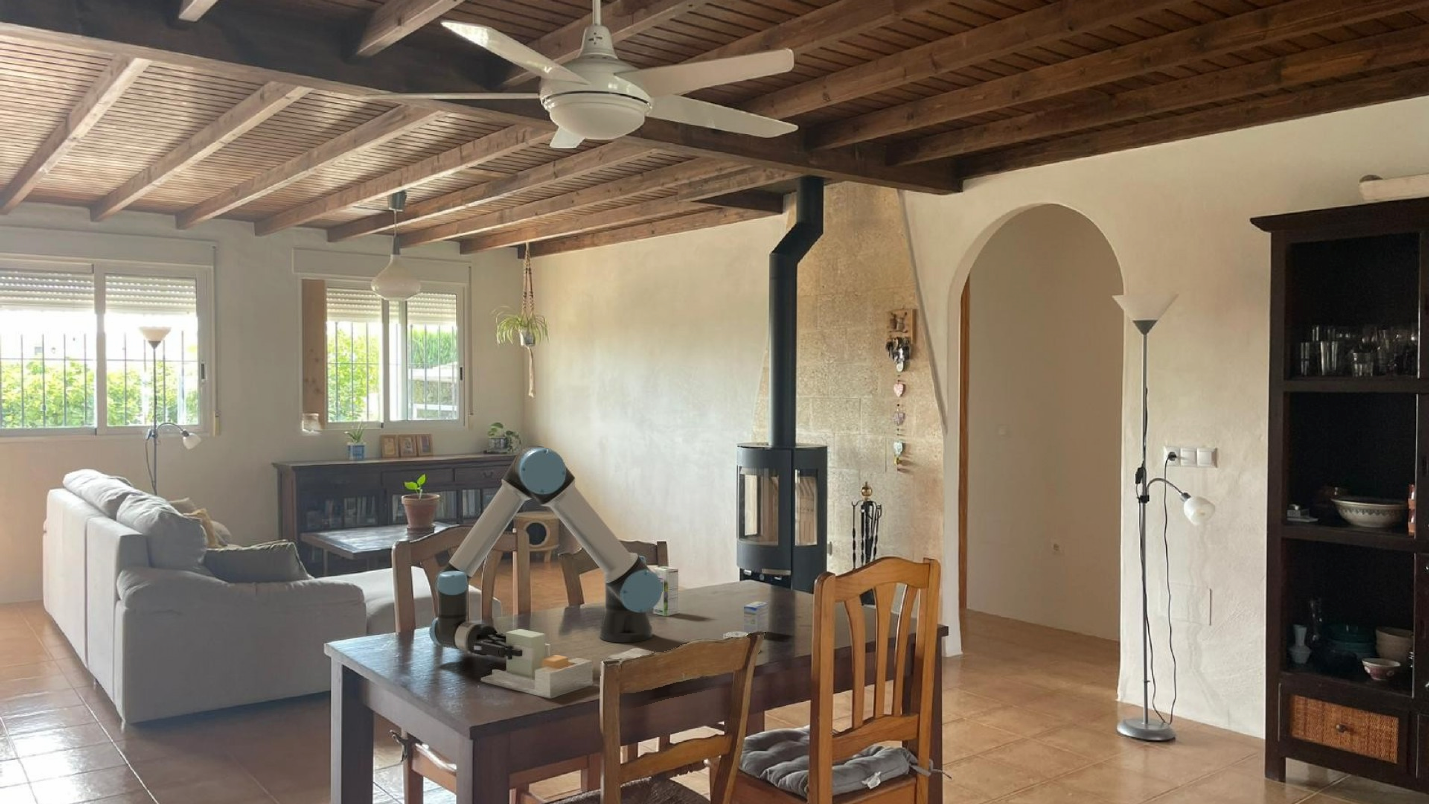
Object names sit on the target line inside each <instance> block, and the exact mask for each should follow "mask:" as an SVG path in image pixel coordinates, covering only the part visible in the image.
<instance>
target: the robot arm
mask: <svg viewBox="0 0 1429 804" xmlns="http://www.w3.org/2000/svg"><path fill="white" fill-rule="evenodd" d="M575 483H576V477H575V476H574V474H573V473H572V472H571V470H570V469H568V467H567V466H566V463H565V462H564V459H563V458H562V456H560V454H559V453H558V452H556V451H555V450H553V449H551V448H548V447H544V446H541V445H530V446H527V447H525V448H523V449H522V450H520V451H519V452H518V453H517V455H516V456H515V458H514V459H513V461H512V462H511V465H510V466H509V468H508V470H507V471H506V472H505V474H504V475H503V477H502V479H501V484H502V485H501V487H500V488H499V489H498V490H497V492H496V494H495V495H494V496H493V498H492V499H491V501H490V502H489V503H488V505H487V506H486V507H485V509H484V511H483V512H482V513H481V515H480V517H479V518H478V519H477V521H476V522H475V524H474V525H473V527H471V529H470V531H469V532H468V533H467V535H466V537H465V538H464V539H463V541H462V542H461V543H460V545H459V546H458V548H457V549H456V551H455V552H454V554H453V555H452V557H451V558H450V559H449V561H448V563H447V564H446V565H445V567H444V568H443V569H442V570H440V571H439V572H438V573H437V575H436V576H435V578H434V580H433V581H434V583H433V589H434V592H435V594H436V597H437V617H435V618H434V620H433V621H432V622H431V625H430V627H429V631H428V633H429V638H430V640H431V641H432V643H434V644H435V645H439V646H442V647H444V648H450V649H454V650H457V651H458V650H459V651H463V652H466V653H468V655H471V654H475V655H479V656H493V657H496V658H501V659H504V658H506V656H508V660H511V659H512V655H513V657H518V658H522V659H526V660H531V661H533V660H534V649H532V648H528V647H523V646H519V645H513V648H512V645H509V644H506V634H503V633H502V632H498V631H497V630H496V628H495V627H494V626H492V625H488V624H484V623H481V622H475V621H469V620H468V588H469V585H468V584H469V582H470V581H471V579H472V578H473V576H474V575H475V573H476V571H477V570H478V568H479V567H480V566H481V564H482V563H483V562H484V560H485V559H486V558H487V556H488V554H489V553H490V552H491V550H492V548H493V547H494V546H495V544H496V543H497V541H499V539H500V537H501V536H502V534H503V533H504V532H505V530H506V529H507V528H508V526H509V524H510V523H511V522H512V521H513V519H514V517H515V516H516V514H517V513H518V512H519V510H520V509H521V507H522V506H523V504H524V503H525V502H526V501H528V500H532V498H533V497H534V499H535V501H536V502H537V503H538V504H539V505H540V506H542V507H548V508H550V509H551V510H552V511H553V513H554V514H555V515H556V517H558V519H559V520H560V521H561V523H563V525H564V526H565V528H566V529H567V530H568V531H569V532H570V533H571V535H572V536H573V537H574V538H575V540H576V541H577V542H578V543H579V544H580V545H581V547H583V550H585V552H586V553H587V554H588V555H589V557H591V559H592V560H593V561H594V562H595V564H596V565H597V566H598V567H599V569H601V571H602V572H603V573H604V574H603V582H604V583H605V585H604V587H605V589H604V591H605V592H604V595H605V596H604V597H605V598H604V599H605V601H604V602H605V609H604V613H603V617H602V619H601V624H600V625H601V626H600V627H599V630H598V631H599V634H598V637H599V639H601V640H602V641H603V640H604V641H606V642H613V643H637V642H642V641H646V640H649V639H650V638H652V637H653V626H652V625H651V621H650V618H649V615H648V611H650V610H652V609H654V607H655V606H656V604H657V603H658V602H659V600H660V598H661V595H662V584H661V581H660V579H659V577H658V576H657V575H656V574H655V573H654V571H653V570H651V569H650V568H649V566H648V565H647V560H646V557H645V556H643V555H639V554H638V553H637V552H629V551H628V550H627V548H626V547H625V546H624V545H623V544H622V542H621V541H620V540H619V539H618V537H617V536H616V535H615V534H614V532H613V531H612V530H611V528H609V526H608V525H607V524H606V523H605V521H604V520H603V519H602V518H601V517H600V515H599V514H598V513H597V512H596V510H595V509H594V508H593V506H591V505H590V503H589V502H588V501H587V499H586V498H585V497H584V496H583V495H582V493H581V492H580V491H579V489H577V487H576V484H575ZM550 656H551V644H549V643H545V657H550Z"/></svg>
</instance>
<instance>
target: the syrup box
mask: <svg viewBox="0 0 1429 804" xmlns="http://www.w3.org/2000/svg"><path fill="white" fill-rule="evenodd" d="M653 572H654V573H655V574H656V575H657V576H658V577H659V579H660V581H661V584H662V595H661V598H660V600H659V602H658V603H657V604H656V606H655V607H653V614H654V615H658V616H659V615H660V616H662V617H663V616H664V617H669V616H672V615H676V614H679V568H678V567H677V568H676V567H670V566H658V567H654V569H653Z"/></svg>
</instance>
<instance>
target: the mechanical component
mask: <svg viewBox="0 0 1429 804" xmlns="http://www.w3.org/2000/svg"><path fill="white" fill-rule="evenodd" d="M746 635H748V633H746V632H744V631H738V630H737V631H729V632H726V633H723V636H722V637H723V638H722V639H725V638H731V637H743V636H746Z"/></svg>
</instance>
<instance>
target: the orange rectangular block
mask: <svg viewBox="0 0 1429 804" xmlns="http://www.w3.org/2000/svg"><path fill="white" fill-rule="evenodd" d="M568 660H569V657H567V656H564V655H558V654H555V655H554V654H553V655H550V656H545V658H543V659H542V668H544V667H547V666H548V667H552V668H556V669H562V668H565V667H568Z"/></svg>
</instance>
